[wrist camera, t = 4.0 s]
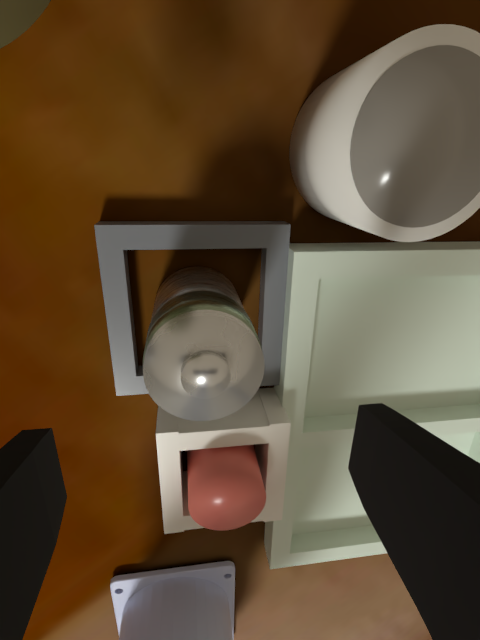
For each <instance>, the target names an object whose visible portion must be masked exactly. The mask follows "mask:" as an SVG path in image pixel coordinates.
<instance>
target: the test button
mask: <svg viewBox="0 0 480 640" xmlns="http://www.w3.org/2000/svg"><path fill="white" fill-rule="evenodd" d="M187 475H188V509H189V513H190V515H191V517H192V519H193V520H194V521H195V522H196V523H197V524H199V525H200V526H202V527H204V528H207V529H211V530H218V531H224V530H232V529H236V528H239V527H242V526H244V525H246V524H248V523H250V522H251V521H252V520H254V519H255V518H256V517H257V516H258V515H259V514H260V513H261V511H262V510H263V508H264V506H265V503H266V492H265V488H264V484H263V480H262V476H261V472H260V468H259V465H258V461H257V457H256V453H255V449H254V445H242V446H231V447H220V448H208V449H197V450H187Z"/></svg>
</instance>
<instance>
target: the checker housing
mask: <svg viewBox="0 0 480 640" xmlns="http://www.w3.org/2000/svg"><path fill="white" fill-rule="evenodd" d="M290 426H291V422H290V420H289V417H288V415H287V413H286V410H285V408H284V407H282V406H281V403H280V401H279V398H278V396H277V394H276V391H275V389H274V388H259V389H258V391H257V392H256V394H255V395H254V396H253V398H252V399H251V400H250V401H249V402H248V403H247V404H246V405H245V406H243V407H242V408H241V409H239V410H238V411H236V412H235V413H233V414H231V415H228V416H226V417H223V418H220V419H216V420H210V421H191V420H186V419H182V418H179V417H176V416H174V415H172V414H170V413H168V412H166V411H165V410H163V409H162V408H161V407H160V406H158V414H157V425H156V443H157V455H158V466H159V478H160V490H161V501H162V513H163V525H164V534H168V533H177V532H184V530H190V529H199V528H204V527H202V526H200V525H199V524H197V523H196V522H195V521H194V520H193V519H192V517H191V515H190V513H189V509H188V475H187V471H183V465H182V451H186V450H197V449H208V448H220V447H231V446H242V445H254V444H255V453H256V457H257V461H258V465H259V468H260V472H261V476H262V480H263V484H264V488H265V492H266V503H265V506H264V508H263V510H262V511H261V513H260V514H259V515H258V516H257V517H256V518H255V519H254V520H252V521H251V522H258V521H264V522H269V521H277V520H282V515H283V504H284V493H285V482H286V471H287V459H288V448H289V437H290Z"/></svg>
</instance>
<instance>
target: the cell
mask: <svg viewBox="0 0 480 640" xmlns="http://www.w3.org/2000/svg"><path fill="white" fill-rule="evenodd" d="M264 369H265V364H264V356H263V352H262V347H261V344H260V341H259V338H258V336H257V334H256V332H255V329H254V327H253V325H252V323H251V320H250V318H249V316H248V315H247V313H246V312H245V310H244V308H243V305H242V303H241V301H240V298H239V296H238V294H237V292H236V289H235V287H234V286H233V284H232V283H231V281H230V280H229V279H228V278H227V277H226V276H224V275H223V274H222V273H220V272H219V271H217V270H214V269H212V268H208V267H203V266H191V267H186V268H183V269H180V270H178V271H176V272H174V273H173V274H171V275H170V276H169V277H168V278H166V279H165V281H164V282H163V283H162V284H161V286H160V288H159V290H158V292H157V295H156V298H155V303H154V309H153V314H152V320H151V323H150V326H149V329H148V334H147V339H146V344H145V349H144V355H143V378H144V383H145V386H146V389H147V391H148V393H149V395H150V396H151V397H152V399H153V400H154V401H155V402H156V404H157V405H158V406H160V407H161V408H162V409H163V410H165V411H166V412H168V413H170V414H172V415H174V416H176V417H179V418H182V419H186V420H191V421H210V420H216V419H220V418H223V417H226V416H228V415H231V414H233V413H235V412H236V411H238V410H239V409H241V408H242V407H243V406H245V405H246V404H247V403H248V402H249V401H250V400H251V399H252V398H253V396H254V395H255V394H256V392H257V391H258V389H259V387H260V385H261V382H262V379H263V376H264Z"/></svg>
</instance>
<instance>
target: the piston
mask: <svg viewBox="0 0 480 640" xmlns="http://www.w3.org/2000/svg"><path fill="white" fill-rule="evenodd" d="M50 1H51V0H0V48H2V47H4V46H5V45H7V44H9V43H10V42H12V41H13V40H15V39H16V38H18V37H19V36H20V35H21V34H22V33H24V32H25V31H26V30H27V29H28V28H29V27H30V26H31V25H32V24H33V23H34V22H35V21H36V20H37V19H38V17H39V16H40V15H41V14H42V13H43V11H44V10H45V8H46V7H47V6H48V4H49V2H50Z"/></svg>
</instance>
